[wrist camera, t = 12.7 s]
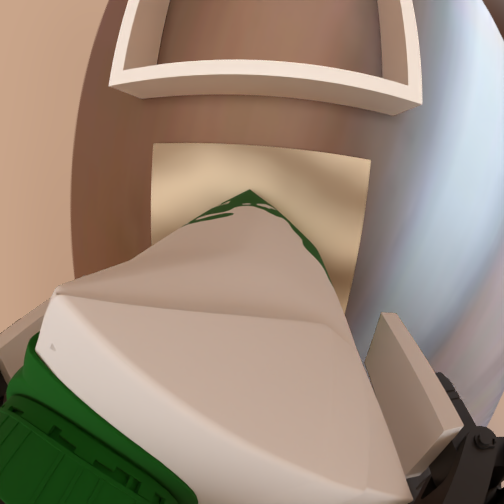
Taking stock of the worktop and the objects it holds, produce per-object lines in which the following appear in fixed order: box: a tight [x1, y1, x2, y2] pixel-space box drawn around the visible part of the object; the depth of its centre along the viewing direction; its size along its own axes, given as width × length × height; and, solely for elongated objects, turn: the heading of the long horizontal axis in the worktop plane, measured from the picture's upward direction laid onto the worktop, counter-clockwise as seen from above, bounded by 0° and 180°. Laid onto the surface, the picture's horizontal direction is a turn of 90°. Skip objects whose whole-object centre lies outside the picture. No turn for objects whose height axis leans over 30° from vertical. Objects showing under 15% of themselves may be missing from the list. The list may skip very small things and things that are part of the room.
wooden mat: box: [151, 143, 371, 315], centre depth 21 cm, size 16×16×1 cm
